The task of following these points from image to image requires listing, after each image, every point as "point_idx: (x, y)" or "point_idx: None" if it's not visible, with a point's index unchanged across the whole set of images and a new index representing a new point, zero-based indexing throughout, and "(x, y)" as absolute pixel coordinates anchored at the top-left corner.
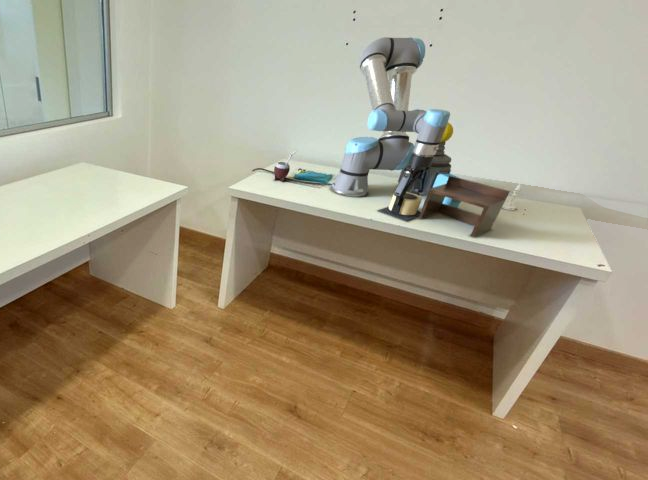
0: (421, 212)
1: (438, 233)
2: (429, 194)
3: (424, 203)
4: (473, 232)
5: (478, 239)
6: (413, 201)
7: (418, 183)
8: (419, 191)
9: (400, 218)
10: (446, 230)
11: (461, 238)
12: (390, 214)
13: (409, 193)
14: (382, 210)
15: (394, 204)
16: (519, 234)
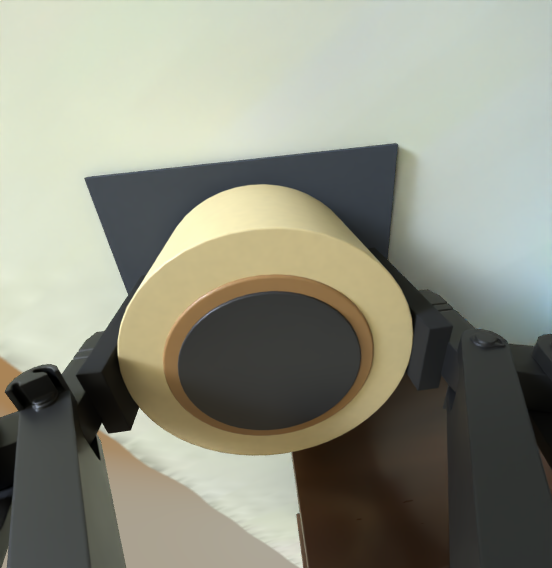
0: None
1: (198, 483)
2: (307, 565)
3: (292, 458)
4: (299, 536)
5: (294, 529)
6: (210, 445)
7: (453, 518)
8: (447, 397)
9: None
10: (262, 474)
11: (244, 517)
12: (131, 281)
13: (380, 321)
14: (128, 198)
15: (98, 335)
16: None
